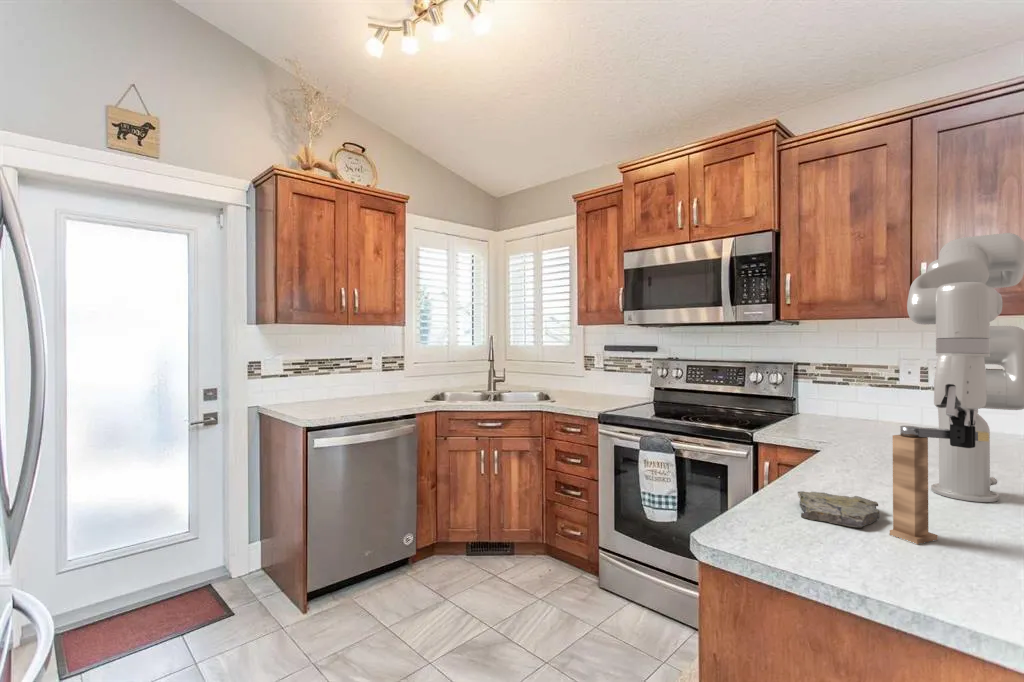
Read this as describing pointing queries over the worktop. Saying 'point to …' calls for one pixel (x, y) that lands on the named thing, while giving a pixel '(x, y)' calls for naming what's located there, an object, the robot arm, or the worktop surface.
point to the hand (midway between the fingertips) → (962, 446)
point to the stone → (838, 509)
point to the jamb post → (910, 489)
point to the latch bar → (936, 433)
